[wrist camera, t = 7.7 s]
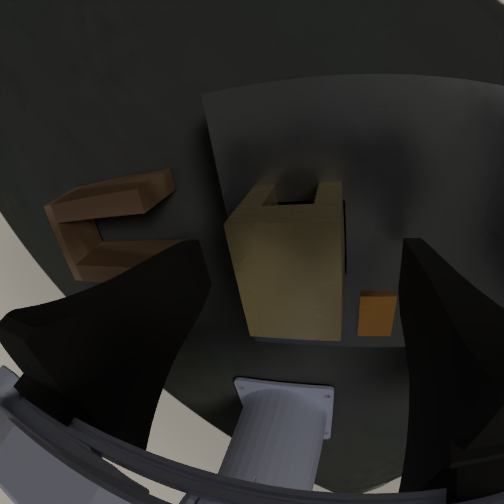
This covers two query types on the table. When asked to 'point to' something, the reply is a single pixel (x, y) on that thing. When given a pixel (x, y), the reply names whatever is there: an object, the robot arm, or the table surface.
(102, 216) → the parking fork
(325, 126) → the dark grey l-shaped block
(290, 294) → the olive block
